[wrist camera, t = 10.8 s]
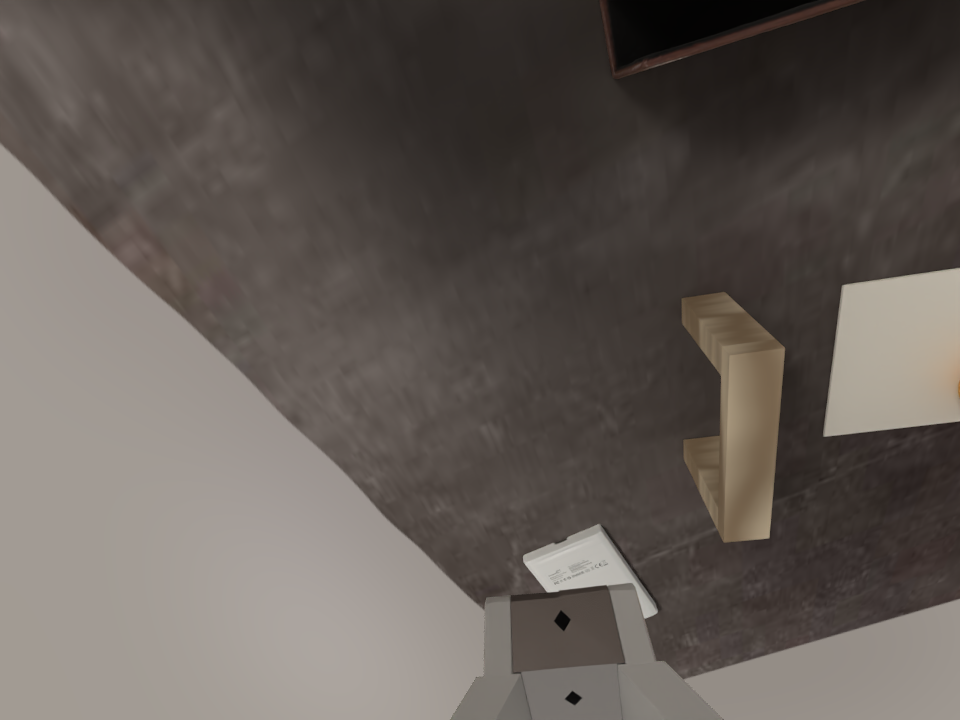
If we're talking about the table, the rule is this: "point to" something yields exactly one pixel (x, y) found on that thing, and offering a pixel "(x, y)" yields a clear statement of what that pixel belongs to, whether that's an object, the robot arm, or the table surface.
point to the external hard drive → (585, 565)
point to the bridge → (737, 417)
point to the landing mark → (896, 354)
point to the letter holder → (692, 26)
